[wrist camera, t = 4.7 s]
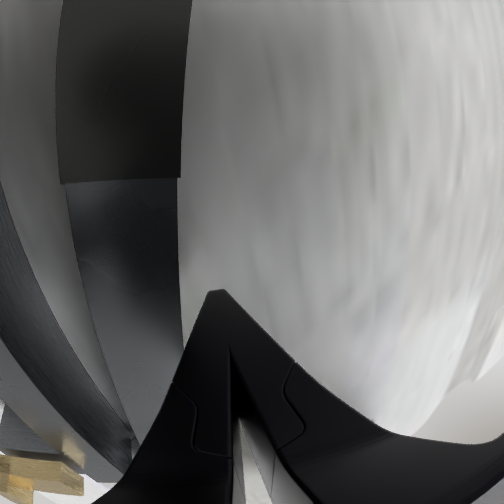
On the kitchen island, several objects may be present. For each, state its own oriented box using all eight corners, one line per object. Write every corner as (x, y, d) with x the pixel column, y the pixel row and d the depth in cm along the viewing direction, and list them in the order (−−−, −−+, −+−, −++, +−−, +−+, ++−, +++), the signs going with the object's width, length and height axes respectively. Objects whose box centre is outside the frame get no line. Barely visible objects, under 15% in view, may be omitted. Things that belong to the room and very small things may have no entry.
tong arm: (189, -5, 6) (200, -51, 3) (195, 453, 16) (203, 497, 14) (41, 12, 5) (-18, -11, 2) (133, 455, 15) (136, 499, 13)
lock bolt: (61, 461, 9) (60, 503, 7) (83, 477, 10) (84, 514, 8) (-6, 453, 8) (-11, 488, 6) (17, 470, 9) (15, 503, 8)
